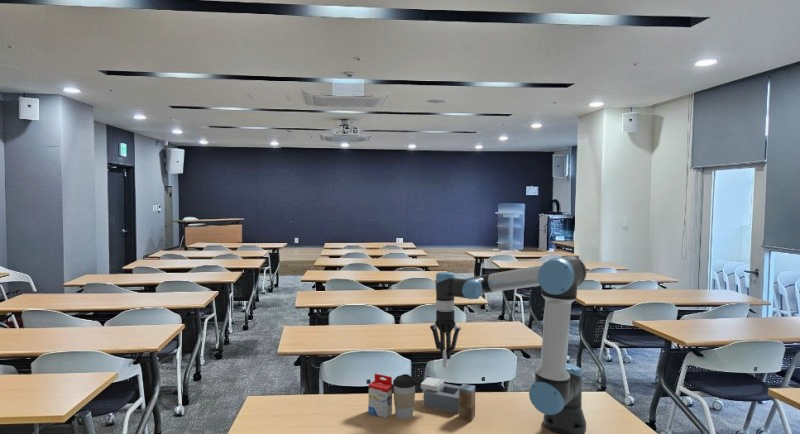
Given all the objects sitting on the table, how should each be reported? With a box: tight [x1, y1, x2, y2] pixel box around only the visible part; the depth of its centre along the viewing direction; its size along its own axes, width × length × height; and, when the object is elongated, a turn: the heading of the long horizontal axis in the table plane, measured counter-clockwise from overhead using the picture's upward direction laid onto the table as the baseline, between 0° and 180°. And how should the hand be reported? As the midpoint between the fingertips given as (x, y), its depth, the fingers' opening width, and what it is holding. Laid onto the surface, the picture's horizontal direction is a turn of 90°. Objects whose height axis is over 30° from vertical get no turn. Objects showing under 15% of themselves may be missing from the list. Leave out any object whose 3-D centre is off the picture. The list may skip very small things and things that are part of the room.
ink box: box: [367, 373, 393, 419], centre depth 182 cm, size 8×5×15 cm, turn 62°
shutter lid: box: [420, 376, 445, 392], centre depth 193 cm, size 7×8×2 cm
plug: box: [458, 383, 476, 422], centre depth 179 cm, size 5×5×12 cm
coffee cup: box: [392, 373, 417, 420], centre depth 181 cm, size 9×9×15 cm
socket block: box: [423, 382, 462, 414], centre depth 191 cm, size 15×12×6 cm
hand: (445, 366), depth 191 cm, fingers closed
